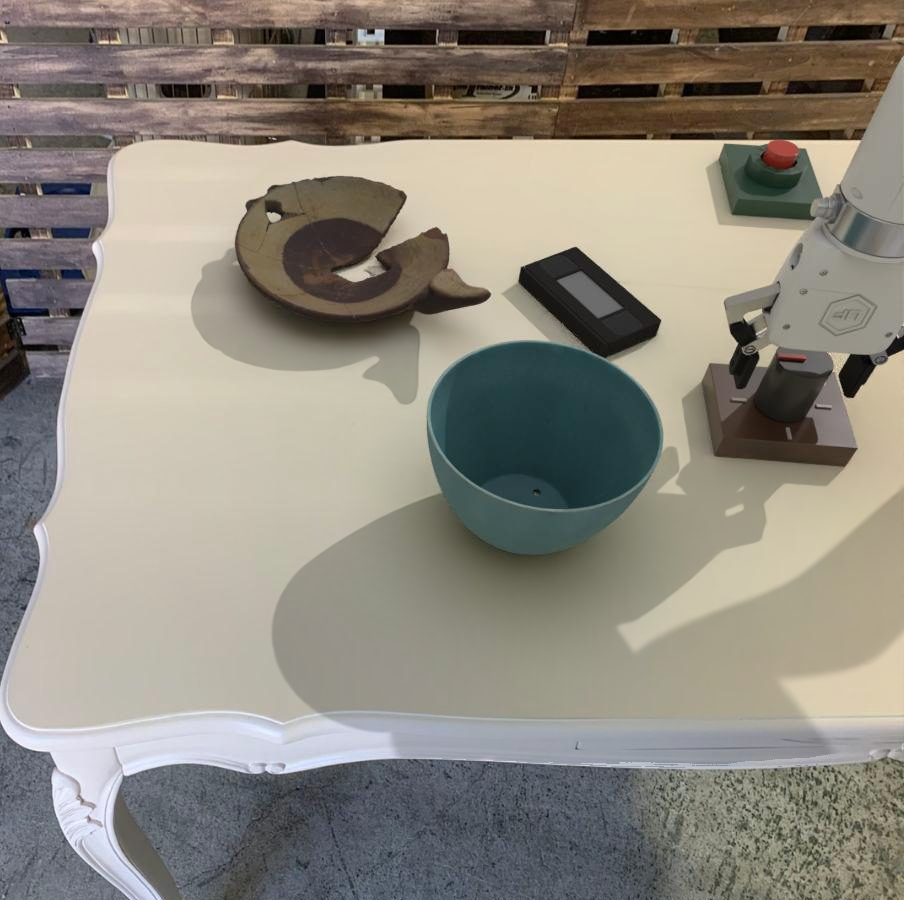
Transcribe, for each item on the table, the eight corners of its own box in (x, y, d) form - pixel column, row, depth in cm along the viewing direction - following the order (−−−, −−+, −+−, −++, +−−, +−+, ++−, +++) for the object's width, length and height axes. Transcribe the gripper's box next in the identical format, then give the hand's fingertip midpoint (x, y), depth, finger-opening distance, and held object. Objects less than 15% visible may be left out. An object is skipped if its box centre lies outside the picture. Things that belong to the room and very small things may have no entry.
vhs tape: (572, 261, 101) (576, 246, 99) (657, 336, 94) (662, 320, 92) (518, 282, 99) (520, 267, 97) (600, 360, 91) (605, 345, 90)
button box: (799, 164, 113) (812, 134, 110) (817, 221, 106) (832, 190, 103) (718, 159, 113) (729, 129, 110) (731, 215, 106) (743, 184, 103)
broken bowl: (376, 192, 108) (377, 132, 102) (517, 340, 93) (529, 279, 87) (204, 246, 102) (194, 184, 96) (325, 414, 86) (323, 354, 80)
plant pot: (564, 419, 86) (591, 318, 76) (664, 566, 76) (711, 471, 66) (387, 468, 82) (392, 368, 73) (469, 629, 72) (487, 539, 62)
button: (790, 154, 108) (796, 140, 106) (795, 171, 106) (801, 157, 104) (759, 152, 108) (765, 138, 106) (764, 169, 106) (770, 155, 104)
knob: (803, 386, 86) (829, 340, 81) (813, 424, 83) (841, 378, 78) (750, 382, 86) (772, 335, 81) (758, 420, 83) (782, 374, 78)
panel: (824, 390, 89) (835, 370, 87) (846, 466, 83) (859, 447, 81) (701, 381, 90) (710, 361, 87) (714, 456, 84) (723, 436, 82)
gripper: (773, 239, 67) (700, 404, 80) (1013, 256, 66) (898, 420, 79) (757, 182, 71) (690, 348, 85) (982, 197, 70) (877, 362, 84)
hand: (791, 383), depth 82 cm, fingers open, 9 cm apart
